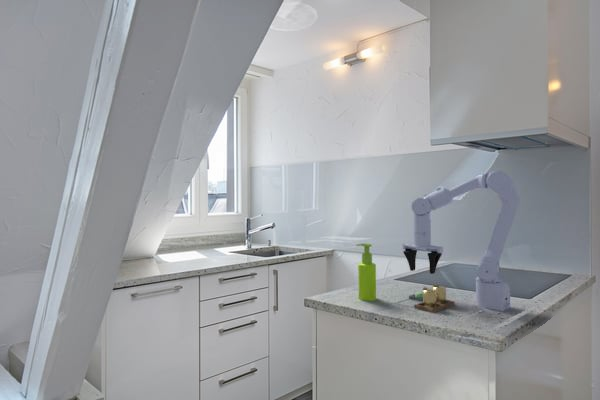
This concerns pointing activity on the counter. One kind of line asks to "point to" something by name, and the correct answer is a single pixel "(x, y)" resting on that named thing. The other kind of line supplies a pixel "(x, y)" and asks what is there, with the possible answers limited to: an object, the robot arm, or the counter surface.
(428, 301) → the cylinder
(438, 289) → the cylinder
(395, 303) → the light blue shallow tray
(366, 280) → the soap dispenser
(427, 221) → the robot arm
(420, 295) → the button
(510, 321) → the counter surface
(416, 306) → the wooden tray
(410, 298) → the button housing
